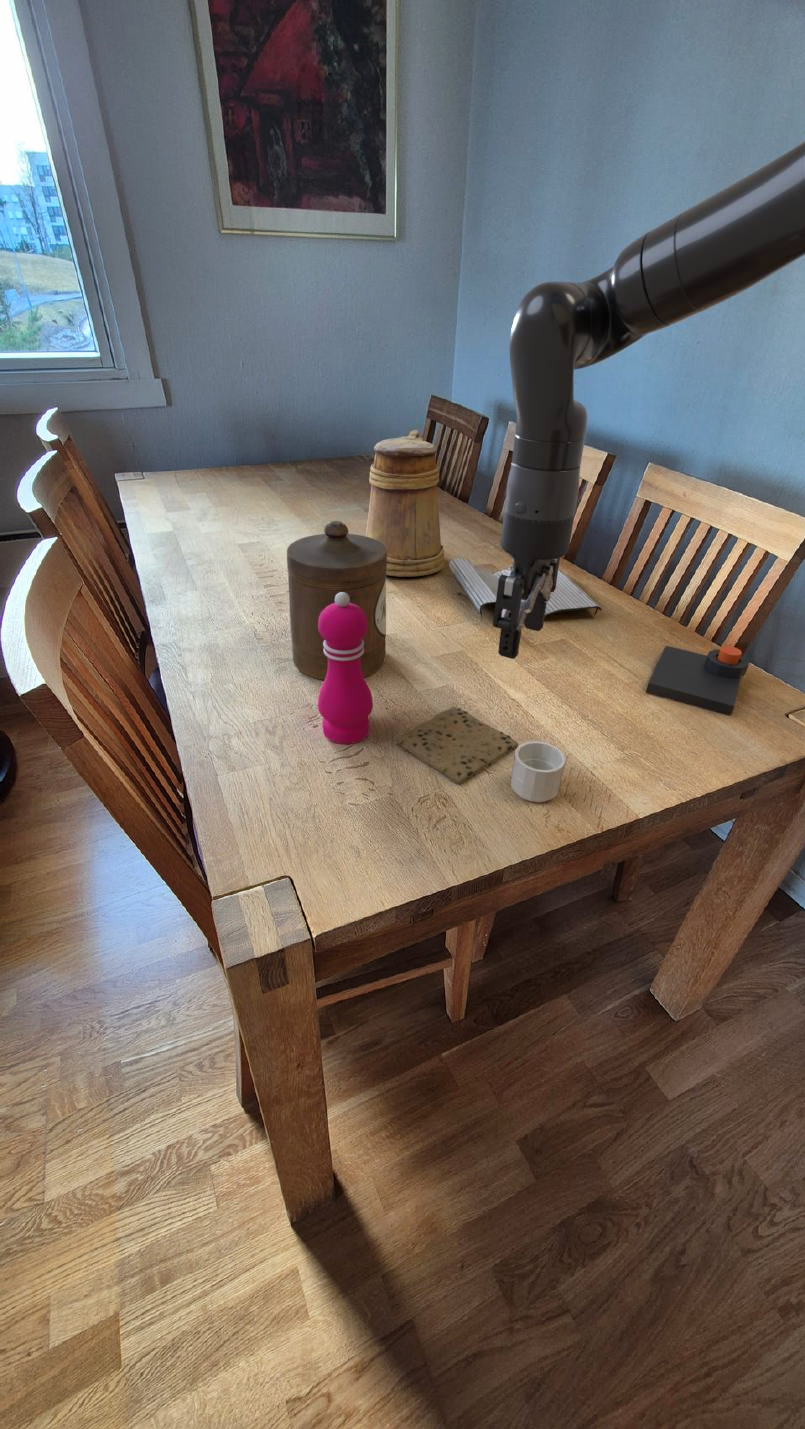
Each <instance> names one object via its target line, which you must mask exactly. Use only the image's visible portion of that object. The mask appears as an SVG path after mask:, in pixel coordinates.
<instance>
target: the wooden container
mask: <svg viewBox="0 0 805 1429" xmlns="http://www.w3.org/2000/svg"><path fill="white" fill-rule="evenodd" d="M323 532H324V533H320V534H313V535H308V536H305V537H301V538H299V539H297V540H295V541H293V542H292V543H290V544H289V545H288V546H287V548H286V566H287V580H288V599H289V600H288V601H289V620H290V621H289V622H290V636H291V637H290V638H291V647H292V658H293V660H292V661H293V663H294V665H295V667H296V668H297V669H298V671H300V672H301V673H302V674H304V675H306V676H309V677H311V678H314V679H318V680H322V681H324V680H325V678H326V674H327V670H328V657H327V656H326V655H325V654H324V646H323V642H324V639H323V638H322V636H321V635H320V632H319V629H318V621H319V616H320V614H321V612H322V611H323V610H324V609H325V608H326V607H327V606H328V605H331V604H333V603H335V596H336V595H337V594H338V593H340V592H345V593H347V594H348V596H349V598H350V602H349V603H352V604H355V605H357V606H358V607H360V608H361V609H362V610H363V611H364V613H365V615H366V617H367V622H368V629H367V633H366V635H365V637H364V638H363V639H362V640H363V641H364V646H363V647H364V652H363V654H362V655H361V658H360V663H361V671H362V674H363V677H364V678H366V677H368V676H371V675H372V674H374V673H375V672H377V671H379V670H380V669H381V668H382V667H383V665H384V664H385V661H386V646H387V645H386V642H387V641H386V640H387V639H386V637H387V575H386V569H387V550H386V547H385V546H384V545H383V544H382V543H381V542H379V541H377V540H375V539H372V538H370V537H366V535H360V534H356V533H349V528H348V526H347V525H346V524H345V523H343V522H342V521H339V520H333V521H331V522H329V523H327V524H325V526H324V528H323Z"/></svg>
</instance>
